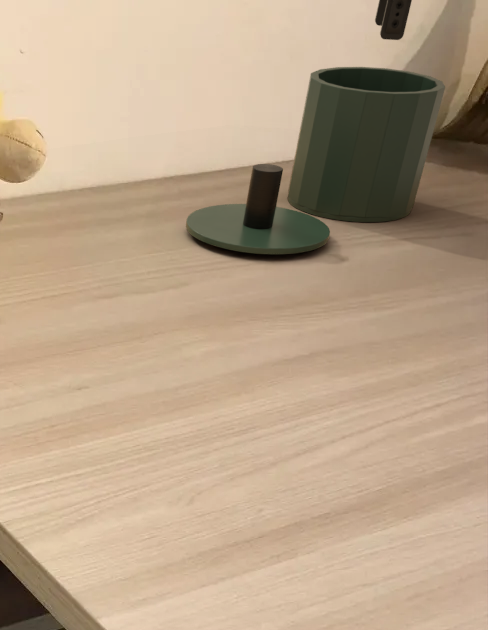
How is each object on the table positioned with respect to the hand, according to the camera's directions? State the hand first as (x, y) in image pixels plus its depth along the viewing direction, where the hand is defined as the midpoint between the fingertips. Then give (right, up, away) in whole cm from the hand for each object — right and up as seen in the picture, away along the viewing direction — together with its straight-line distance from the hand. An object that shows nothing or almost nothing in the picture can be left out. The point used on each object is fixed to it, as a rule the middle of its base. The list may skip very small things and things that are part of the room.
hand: (387, 32), depth 106 cm
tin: (0, -13, +11) cm, 17 cm away
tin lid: (-13, -20, +1) cm, 24 cm away
